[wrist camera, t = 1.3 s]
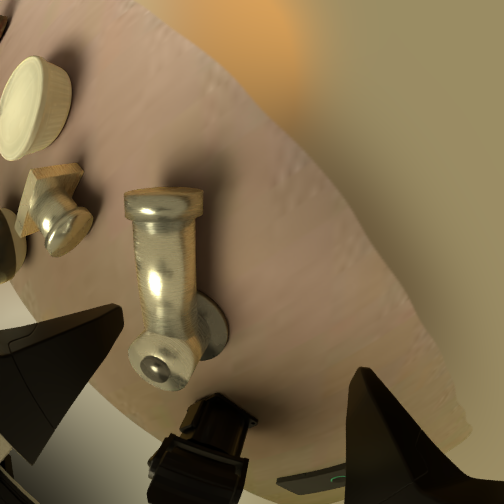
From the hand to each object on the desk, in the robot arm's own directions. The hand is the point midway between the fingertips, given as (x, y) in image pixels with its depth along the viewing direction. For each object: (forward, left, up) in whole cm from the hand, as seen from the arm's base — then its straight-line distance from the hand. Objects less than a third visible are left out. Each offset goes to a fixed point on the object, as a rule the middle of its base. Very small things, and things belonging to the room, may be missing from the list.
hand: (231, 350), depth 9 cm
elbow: (+3, +7, -12) cm, 14 cm away
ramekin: (+28, +6, -13) cm, 31 cm away
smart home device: (-35, +18, -13) cm, 41 cm away
